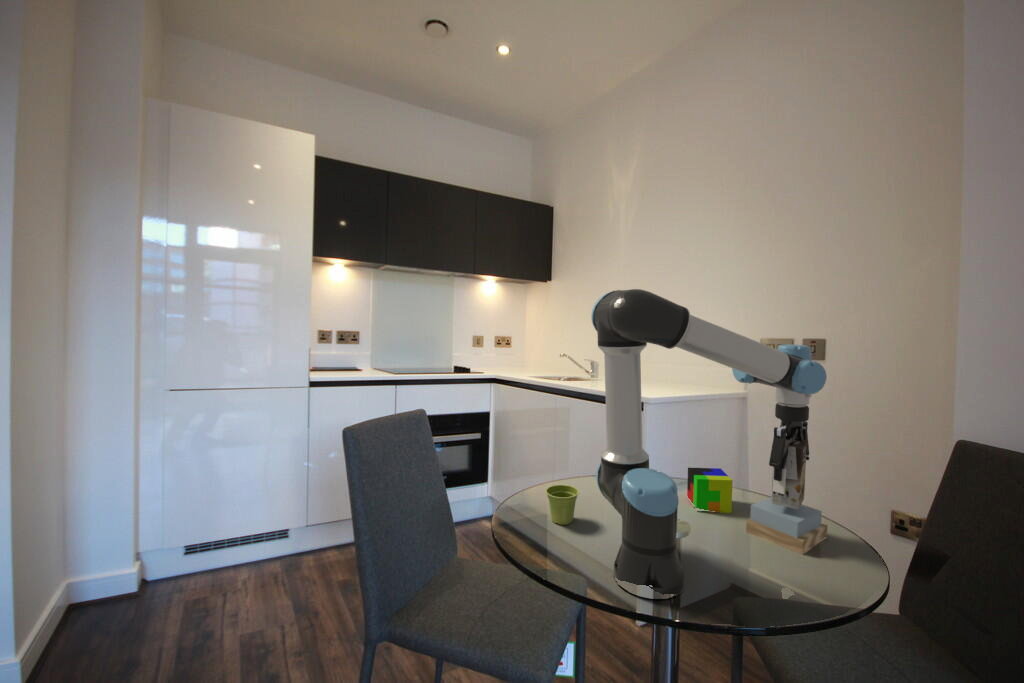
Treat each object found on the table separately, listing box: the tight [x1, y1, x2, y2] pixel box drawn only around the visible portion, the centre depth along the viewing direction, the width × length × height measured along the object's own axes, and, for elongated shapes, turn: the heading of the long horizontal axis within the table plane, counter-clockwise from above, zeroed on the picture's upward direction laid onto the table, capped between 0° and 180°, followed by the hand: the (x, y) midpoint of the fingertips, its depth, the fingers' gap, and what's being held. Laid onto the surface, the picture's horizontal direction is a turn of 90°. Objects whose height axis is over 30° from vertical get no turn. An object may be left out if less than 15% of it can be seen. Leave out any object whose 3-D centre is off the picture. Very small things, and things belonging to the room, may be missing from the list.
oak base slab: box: [745, 518, 828, 555], centre depth 124 cm, size 14×14×4 cm
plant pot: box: [545, 484, 580, 526], centre depth 133 cm, size 9×9×9 cm
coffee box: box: [771, 440, 807, 509], centre depth 122 cm, size 9×6×16 cm
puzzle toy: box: [686, 467, 734, 514], centre depth 143 cm, size 10×10×10 cm
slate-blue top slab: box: [749, 496, 822, 538], centre depth 124 cm, size 12×12×4 cm
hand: (788, 487), depth 123 cm, fingers closed on coffee box, 10 cm apart
